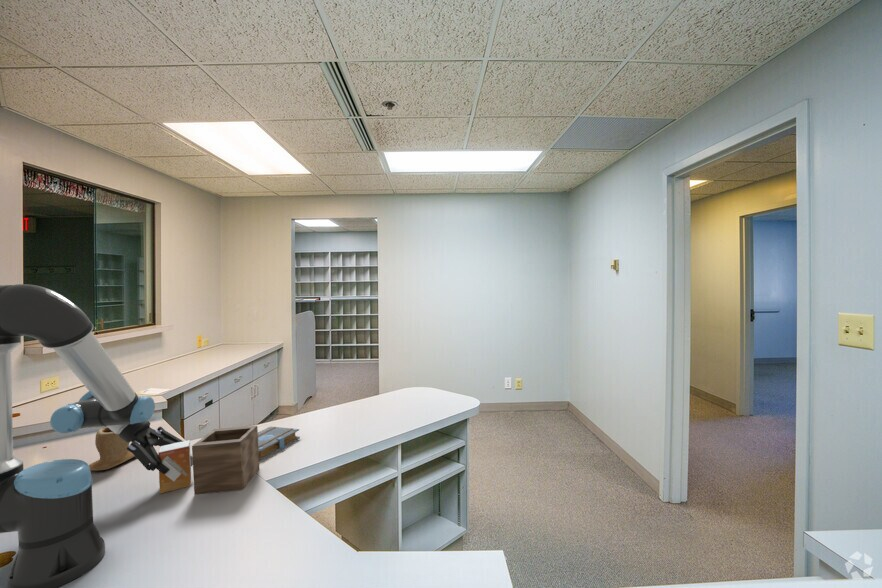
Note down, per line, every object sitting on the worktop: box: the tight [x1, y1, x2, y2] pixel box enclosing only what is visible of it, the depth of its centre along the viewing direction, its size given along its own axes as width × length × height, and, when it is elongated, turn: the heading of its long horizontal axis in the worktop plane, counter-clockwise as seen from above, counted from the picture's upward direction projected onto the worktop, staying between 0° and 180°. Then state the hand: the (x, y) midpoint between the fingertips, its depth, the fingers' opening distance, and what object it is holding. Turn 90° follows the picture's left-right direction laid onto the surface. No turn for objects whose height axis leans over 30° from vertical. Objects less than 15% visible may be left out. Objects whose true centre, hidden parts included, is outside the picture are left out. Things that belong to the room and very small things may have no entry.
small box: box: [157, 439, 192, 494], centre depth 118 cm, size 8×6×13 cm
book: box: [258, 425, 301, 462], centre depth 146 cm, size 21×16×5 cm
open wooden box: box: [191, 425, 260, 496], centre depth 120 cm, size 14×14×15 cm
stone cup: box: [88, 426, 136, 472], centre depth 137 cm, size 15×12×15 cm
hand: (186, 470), depth 118 cm, fingers closed on small box, 9 cm apart
